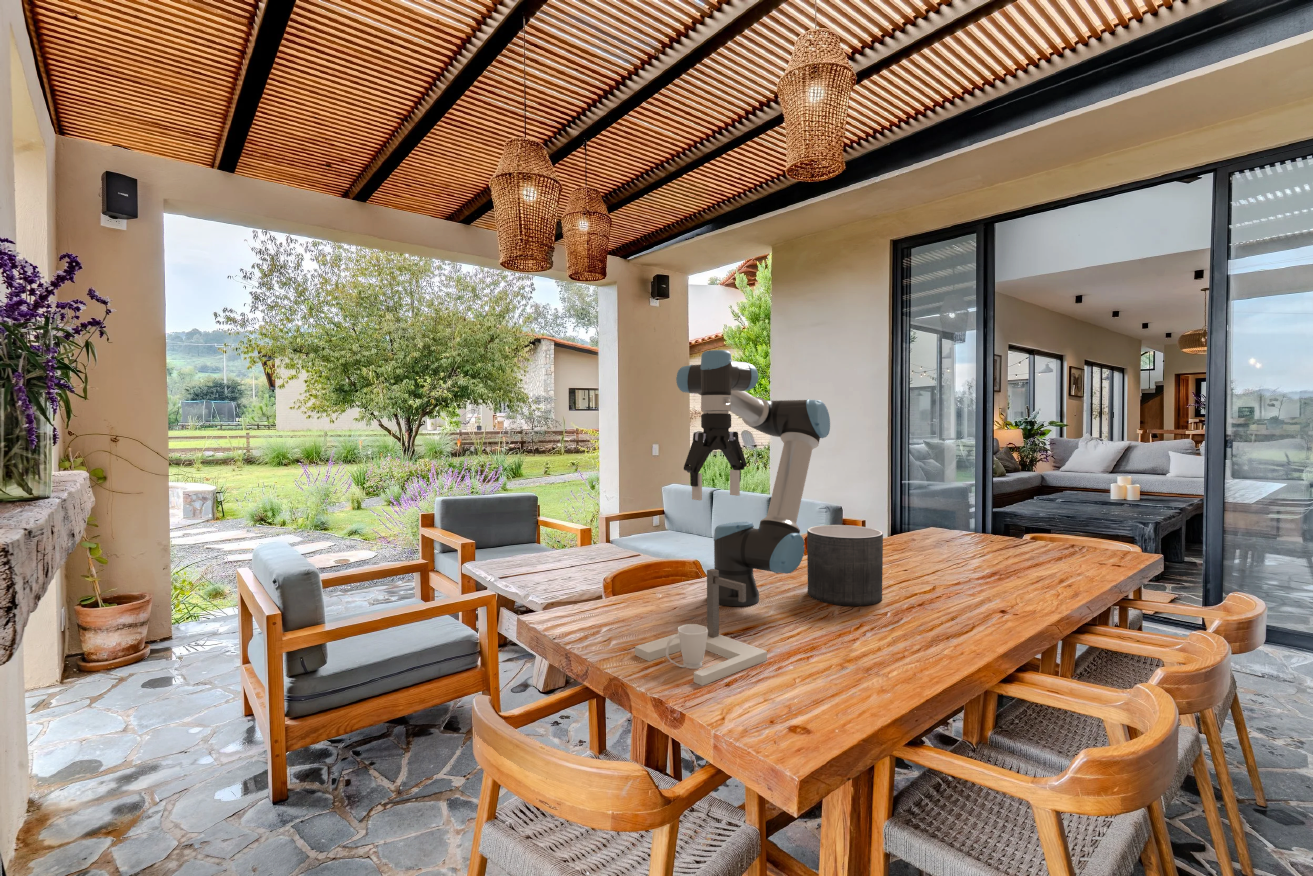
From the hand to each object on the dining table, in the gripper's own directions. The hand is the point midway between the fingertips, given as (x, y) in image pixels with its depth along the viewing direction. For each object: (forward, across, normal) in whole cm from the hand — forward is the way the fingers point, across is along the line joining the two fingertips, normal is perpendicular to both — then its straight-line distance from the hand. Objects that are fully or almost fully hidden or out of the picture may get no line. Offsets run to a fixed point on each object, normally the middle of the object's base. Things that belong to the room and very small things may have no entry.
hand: (716, 497), depth 154 cm
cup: (+35, -19, -10) cm, 41 cm away
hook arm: (+33, -5, -8) cm, 34 cm away
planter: (+35, +54, -2) cm, 64 cm away
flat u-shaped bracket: (+35, -14, -8) cm, 38 cm away
